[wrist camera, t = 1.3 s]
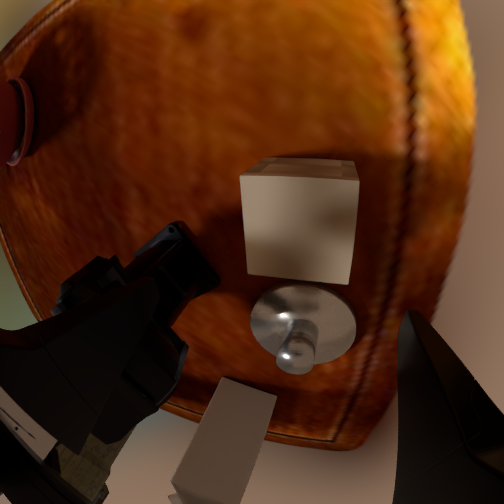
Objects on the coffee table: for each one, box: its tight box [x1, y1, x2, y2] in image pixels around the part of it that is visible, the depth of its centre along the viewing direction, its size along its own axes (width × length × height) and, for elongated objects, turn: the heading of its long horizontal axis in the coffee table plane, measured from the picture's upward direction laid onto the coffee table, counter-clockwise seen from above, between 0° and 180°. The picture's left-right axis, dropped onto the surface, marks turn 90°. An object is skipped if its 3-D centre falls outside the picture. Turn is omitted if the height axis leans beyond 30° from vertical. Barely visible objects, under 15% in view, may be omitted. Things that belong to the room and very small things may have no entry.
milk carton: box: [168, 377, 277, 504], centre depth 24 cm, size 7×7×19 cm
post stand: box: [250, 280, 356, 374], centre depth 21 cm, size 9×9×4 cm
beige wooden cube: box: [240, 157, 360, 285], centre depth 16 cm, size 6×6×5 cm
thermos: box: [57, 426, 136, 504], centre depth 24 cm, size 9×12×35 cm
